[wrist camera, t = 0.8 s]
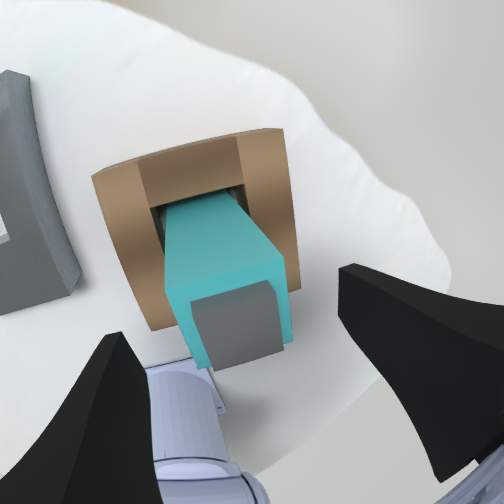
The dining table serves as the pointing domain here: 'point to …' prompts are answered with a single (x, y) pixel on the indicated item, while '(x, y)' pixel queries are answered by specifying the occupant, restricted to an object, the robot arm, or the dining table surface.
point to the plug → (224, 282)
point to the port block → (28, 210)
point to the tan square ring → (190, 184)
